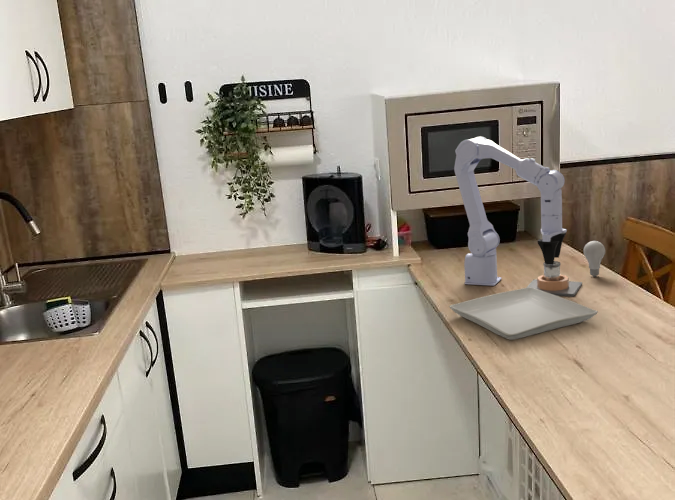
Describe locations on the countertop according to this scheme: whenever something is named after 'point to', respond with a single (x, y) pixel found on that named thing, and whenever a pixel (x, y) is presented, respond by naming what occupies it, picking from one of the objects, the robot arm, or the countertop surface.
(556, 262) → the silver metal cylinder
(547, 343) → the countertop surface
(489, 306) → the square plate
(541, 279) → the duct flange
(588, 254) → the lightbulb
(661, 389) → the countertop surface
